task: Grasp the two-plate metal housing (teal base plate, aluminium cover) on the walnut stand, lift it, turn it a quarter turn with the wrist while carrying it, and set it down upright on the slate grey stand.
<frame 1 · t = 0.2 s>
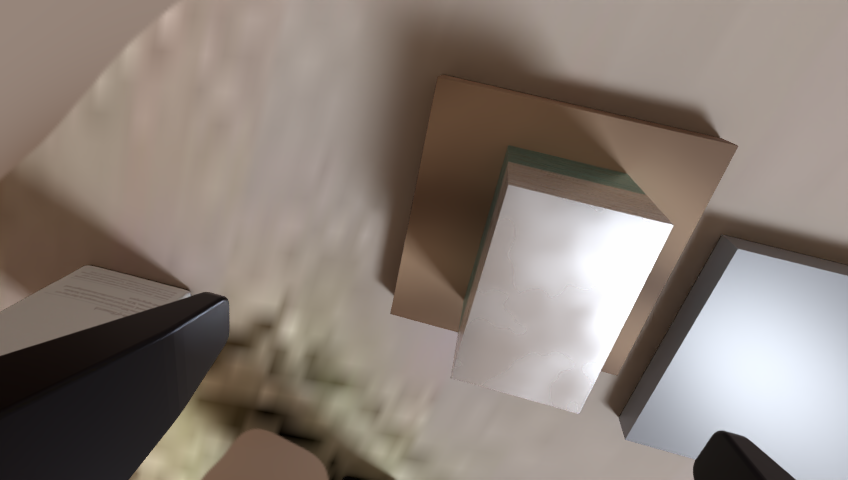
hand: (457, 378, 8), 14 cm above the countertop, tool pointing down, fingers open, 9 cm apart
walnut stand: (535, 230, 21), on the countertop
supplement box: (147, 320, 29), on the countertop
slate stand: (783, 368, 22), on the countertop
housing: (537, 242, 20), point 1 cm above the countertop, touching walnut stand
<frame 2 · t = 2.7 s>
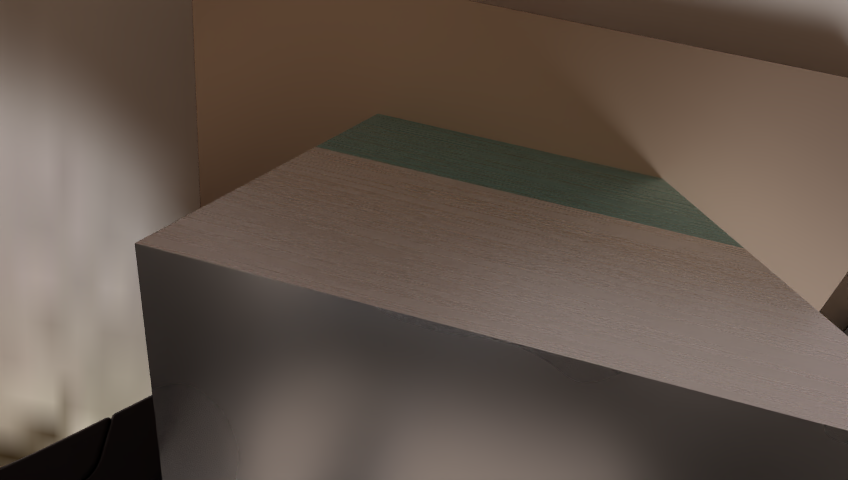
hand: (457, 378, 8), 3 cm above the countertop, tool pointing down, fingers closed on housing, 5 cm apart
walnut stand: (469, 292, 11), on the countertop
housing: (464, 328, 9), point 2 cm above the countertop, touching gripper, walnut stand
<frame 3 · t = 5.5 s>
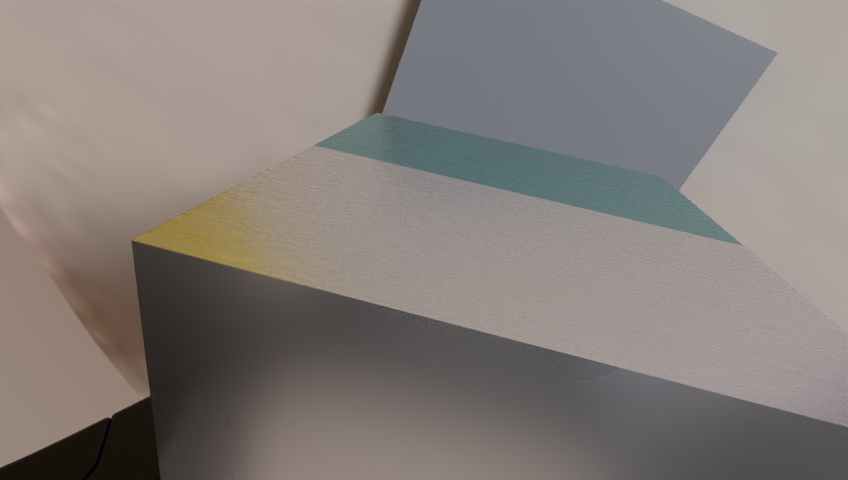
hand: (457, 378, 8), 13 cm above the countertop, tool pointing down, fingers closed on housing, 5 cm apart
slate stand: (529, 136, 19), on the countertop
housing: (463, 327, 9), point 12 cm above the countertop, touching gripper
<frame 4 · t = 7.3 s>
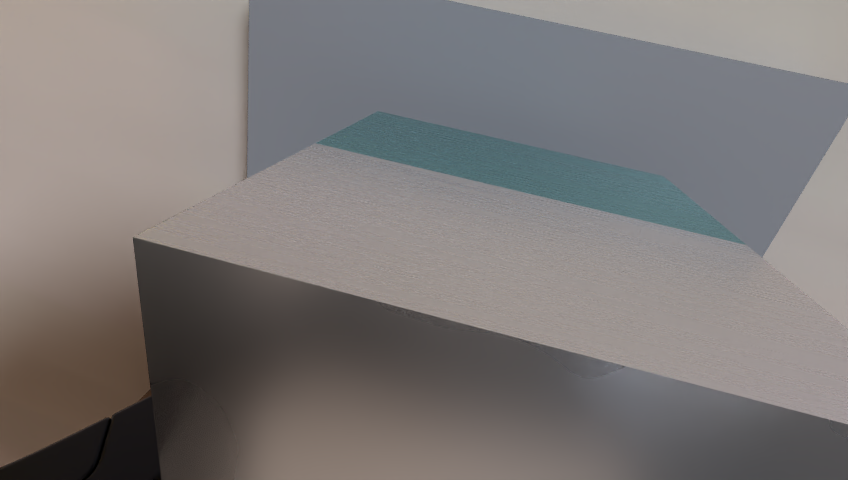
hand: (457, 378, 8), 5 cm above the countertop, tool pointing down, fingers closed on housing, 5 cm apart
slate stand: (473, 255, 12), on the countertop
housing: (464, 327, 9), point 3 cm above the countertop, touching gripper
when the fingers open (4 cm above the countertop, at t = 8.6 s): housing stays where it is, resting on slate stand.
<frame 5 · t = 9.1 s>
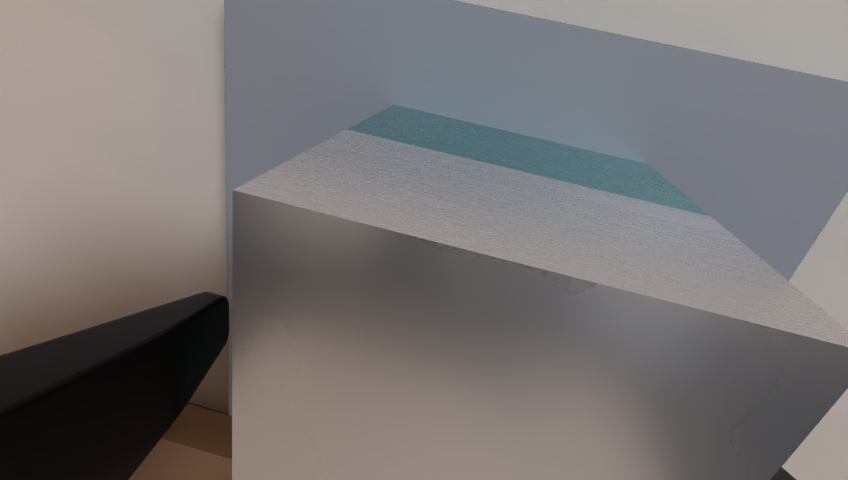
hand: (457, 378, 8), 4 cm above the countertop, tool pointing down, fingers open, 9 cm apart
slate stand: (471, 272, 11), on the countertop
housing: (468, 302, 10), point 1 cm above the countertop, touching slate stand
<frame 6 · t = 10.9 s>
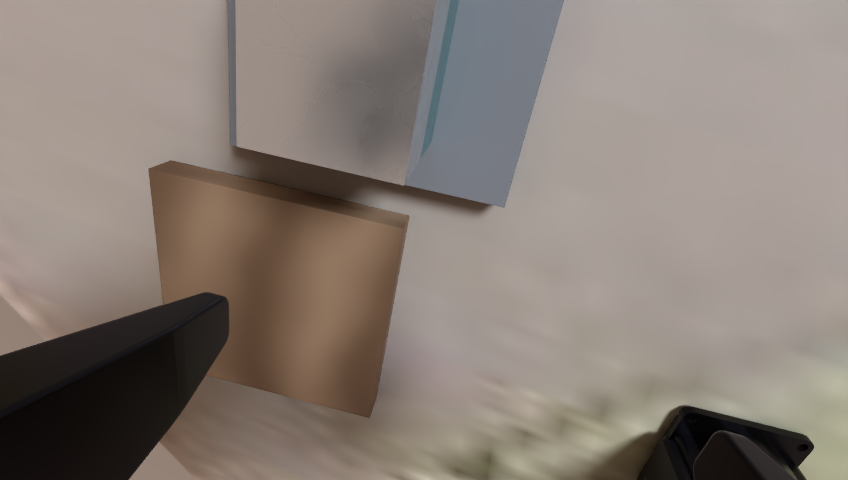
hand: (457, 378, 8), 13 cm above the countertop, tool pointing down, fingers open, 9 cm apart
walnut stand: (283, 290, 23), on the countertop
slate stand: (393, 20, 17), on the countertop
housing: (385, 18, 16), point 1 cm above the countertop, touching slate stand
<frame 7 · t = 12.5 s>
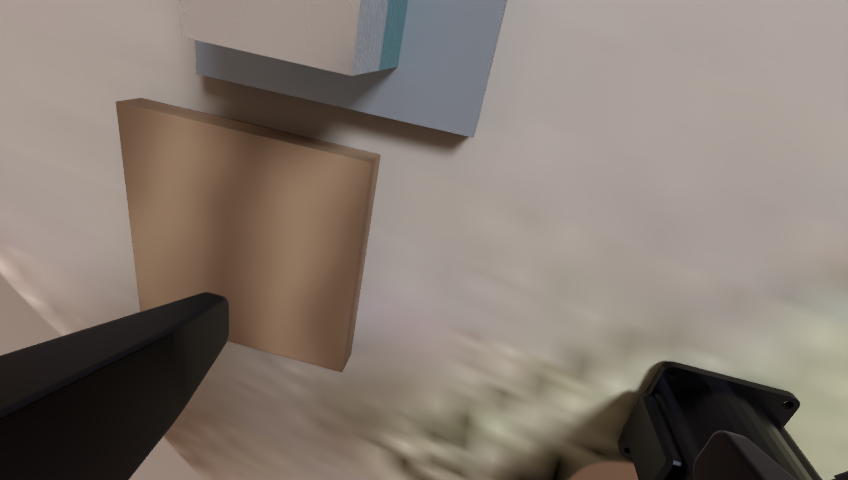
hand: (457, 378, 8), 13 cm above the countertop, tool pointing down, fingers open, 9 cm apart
walnut stand: (255, 238, 23), on the countertop
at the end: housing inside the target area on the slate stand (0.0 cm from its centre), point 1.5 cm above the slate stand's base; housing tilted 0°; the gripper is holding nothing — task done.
